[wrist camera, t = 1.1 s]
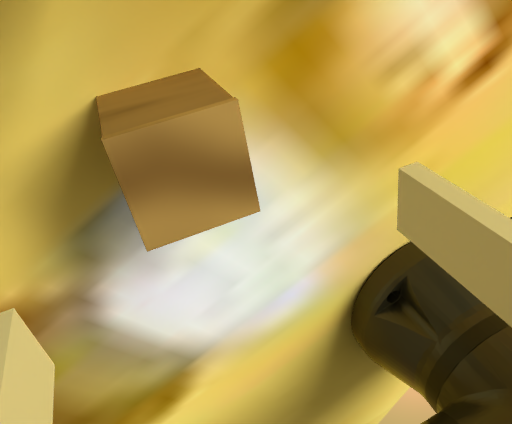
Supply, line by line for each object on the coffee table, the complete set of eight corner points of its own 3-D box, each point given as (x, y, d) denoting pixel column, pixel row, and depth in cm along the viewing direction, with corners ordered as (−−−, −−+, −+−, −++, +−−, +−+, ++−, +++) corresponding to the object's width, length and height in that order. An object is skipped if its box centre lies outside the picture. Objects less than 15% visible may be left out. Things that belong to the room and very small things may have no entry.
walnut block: (222, 159, 28) (260, 211, 22) (131, 189, 27) (147, 251, 21) (199, 66, 25) (237, 99, 19) (94, 96, 23) (101, 140, 18)
